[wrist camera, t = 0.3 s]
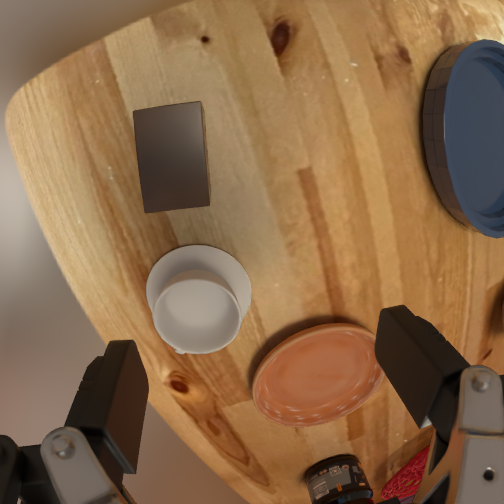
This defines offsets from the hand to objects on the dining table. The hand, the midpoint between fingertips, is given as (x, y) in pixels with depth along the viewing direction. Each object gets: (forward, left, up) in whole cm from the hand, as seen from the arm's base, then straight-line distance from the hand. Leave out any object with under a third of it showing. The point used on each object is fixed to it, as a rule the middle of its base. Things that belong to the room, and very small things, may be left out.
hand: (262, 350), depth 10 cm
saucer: (+20, +8, -19) cm, 29 cm away
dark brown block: (-5, -4, -19) cm, 20 cm away
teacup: (+8, -4, -19) cm, 21 cm away
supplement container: (+48, +13, -19) cm, 53 cm away
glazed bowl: (-7, +30, -19) cm, 36 cm away
